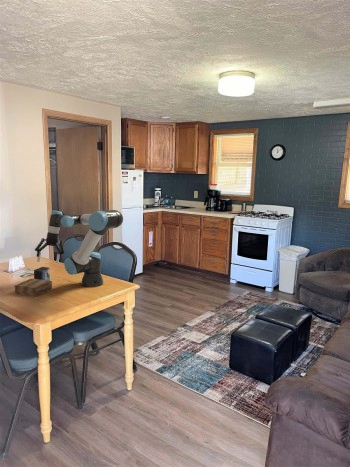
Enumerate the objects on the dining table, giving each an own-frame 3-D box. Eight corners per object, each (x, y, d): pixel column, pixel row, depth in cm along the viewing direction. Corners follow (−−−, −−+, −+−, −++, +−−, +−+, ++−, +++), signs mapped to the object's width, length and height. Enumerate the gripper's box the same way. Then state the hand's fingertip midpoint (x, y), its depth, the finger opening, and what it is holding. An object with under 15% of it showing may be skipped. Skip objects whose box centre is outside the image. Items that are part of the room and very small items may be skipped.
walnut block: (52, 289, 230) (51, 280, 229) (36, 297, 215) (36, 288, 214) (31, 286, 234) (31, 278, 233) (15, 294, 219) (14, 285, 218)
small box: (42, 285, 236) (41, 270, 235) (33, 284, 237) (33, 270, 236) (50, 281, 246) (50, 267, 245) (42, 280, 248) (41, 266, 246)
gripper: (67, 234, 249) (62, 262, 250) (33, 229, 233) (27, 259, 233) (72, 235, 244) (66, 264, 244) (37, 230, 227) (31, 262, 228)
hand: (47, 262), depth 239 cm, fingers open, 13 cm apart
